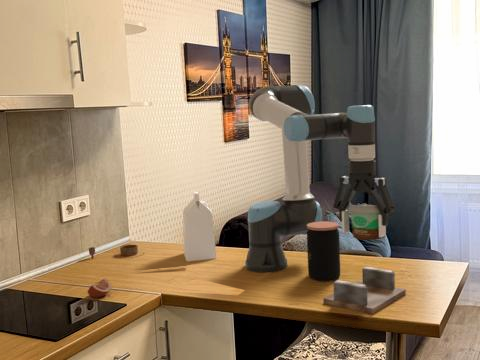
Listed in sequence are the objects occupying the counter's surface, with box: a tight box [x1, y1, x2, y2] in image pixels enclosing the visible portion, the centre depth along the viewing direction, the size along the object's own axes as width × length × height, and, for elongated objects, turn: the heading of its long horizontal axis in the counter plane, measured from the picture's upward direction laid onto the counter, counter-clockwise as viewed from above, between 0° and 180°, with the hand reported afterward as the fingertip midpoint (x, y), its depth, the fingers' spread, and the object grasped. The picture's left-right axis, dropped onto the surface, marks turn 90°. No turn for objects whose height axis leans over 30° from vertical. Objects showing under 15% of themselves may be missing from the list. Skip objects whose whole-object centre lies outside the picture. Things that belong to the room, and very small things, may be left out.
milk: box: [182, 191, 217, 262], centre depth 228 cm, size 12×12×26 cm
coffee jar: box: [306, 220, 341, 282], centre depth 195 cm, size 11×11×18 cm
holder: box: [322, 266, 407, 315], centre depth 172 cm, size 16×20×7 cm
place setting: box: [88, 244, 145, 260], centre depth 237 cm, size 18×20×6 cm
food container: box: [347, 201, 386, 241], centre depth 169 cm, size 12×6×10 cm, turn 58°
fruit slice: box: [87, 278, 112, 298], centre depth 187 cm, size 8×7×5 cm
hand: (363, 234), depth 170 cm, fingers closed on food container, 11 cm apart
